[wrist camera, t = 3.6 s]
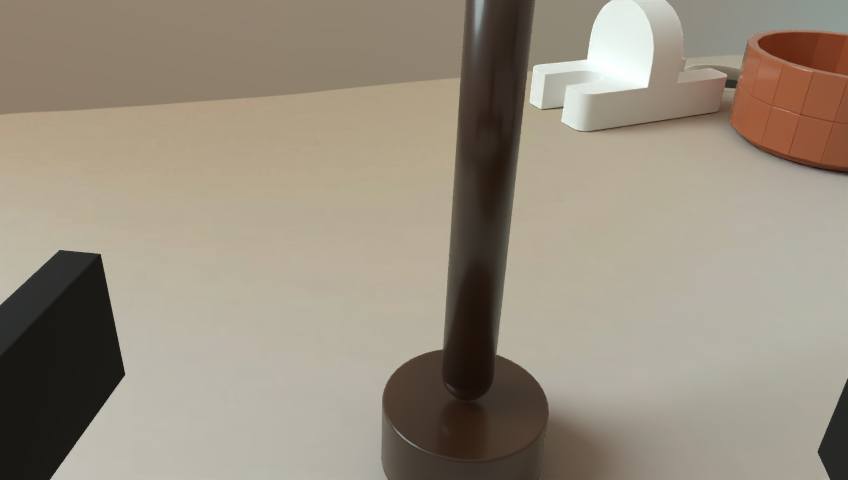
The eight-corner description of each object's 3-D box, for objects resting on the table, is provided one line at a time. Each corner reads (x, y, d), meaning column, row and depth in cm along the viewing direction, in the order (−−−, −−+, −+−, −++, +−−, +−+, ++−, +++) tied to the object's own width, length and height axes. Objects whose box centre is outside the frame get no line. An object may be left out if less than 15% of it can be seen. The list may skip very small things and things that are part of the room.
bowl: (895, 123, 55) (926, 41, 52) (943, 191, 45) (985, 93, 42) (723, 101, 57) (742, 22, 54) (731, 160, 47) (756, 67, 44)
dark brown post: (550, 422, 26) (657, -226, 17) (524, 541, 22) (648, -244, 12) (409, 389, 27) (433, -233, 18) (357, 495, 23) (353, -251, 13)
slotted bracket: (660, 82, 61) (680, -17, 57) (723, 110, 56) (750, 3, 52) (525, 100, 56) (536, -8, 52) (579, 132, 50) (597, 15, 47)
